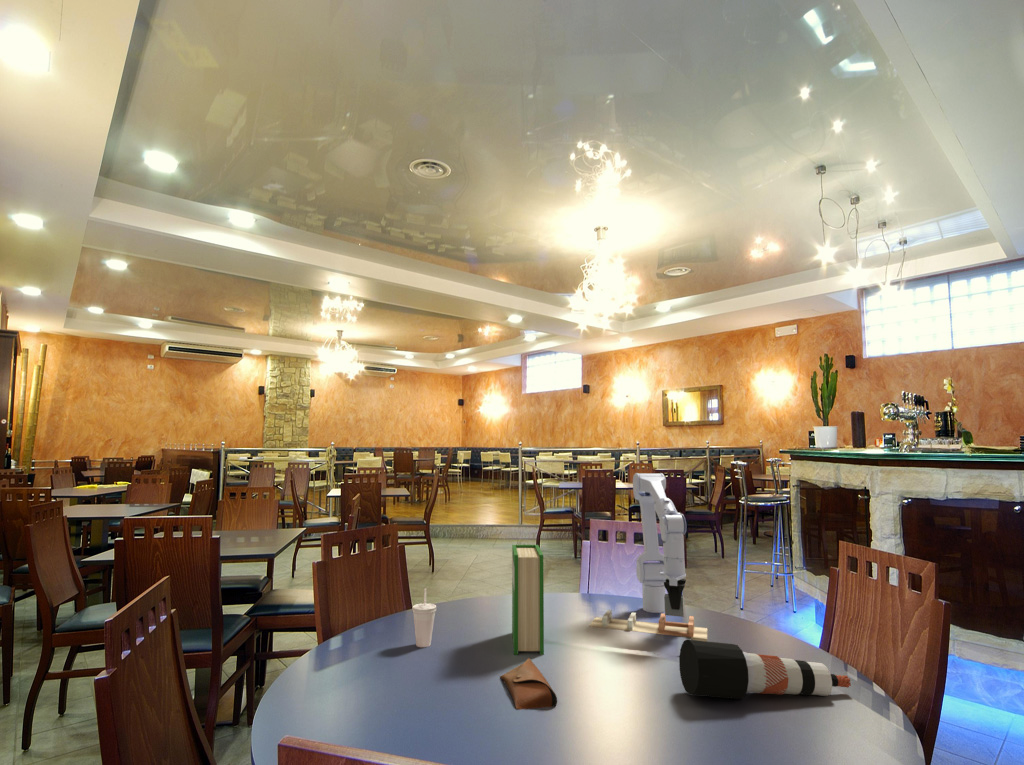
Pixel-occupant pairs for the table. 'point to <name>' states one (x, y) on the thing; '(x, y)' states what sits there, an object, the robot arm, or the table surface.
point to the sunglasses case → (529, 687)
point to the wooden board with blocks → (652, 626)
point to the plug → (671, 611)
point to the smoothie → (424, 622)
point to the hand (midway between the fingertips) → (676, 607)
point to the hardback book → (527, 599)
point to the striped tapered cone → (749, 672)
